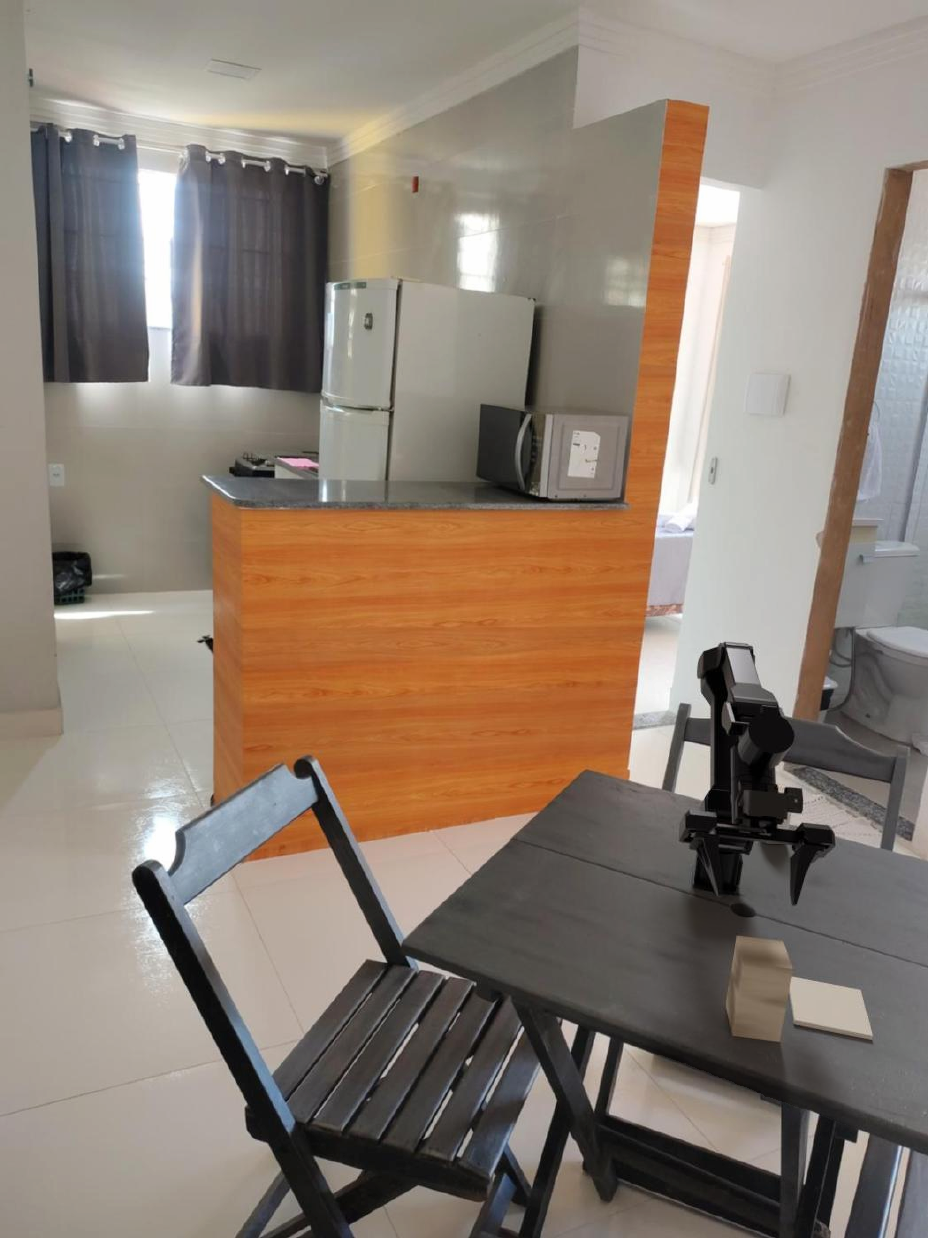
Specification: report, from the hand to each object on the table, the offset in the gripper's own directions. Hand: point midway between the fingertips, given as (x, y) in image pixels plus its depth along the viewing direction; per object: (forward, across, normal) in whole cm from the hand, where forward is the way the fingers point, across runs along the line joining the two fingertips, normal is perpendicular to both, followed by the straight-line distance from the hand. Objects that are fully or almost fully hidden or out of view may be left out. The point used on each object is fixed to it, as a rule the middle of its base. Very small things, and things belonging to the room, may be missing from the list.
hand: (756, 900), depth 117 cm
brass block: (+14, 0, +4) cm, 14 cm away
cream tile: (+10, +10, +8) cm, 16 cm away
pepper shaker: (-22, +12, +40) cm, 47 cm away
